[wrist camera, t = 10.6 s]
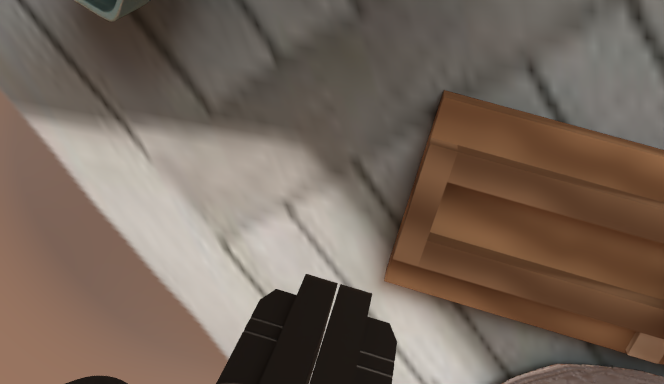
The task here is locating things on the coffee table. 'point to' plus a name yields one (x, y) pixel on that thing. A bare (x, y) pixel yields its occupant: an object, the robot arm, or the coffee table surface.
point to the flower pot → (112, 7)
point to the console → (538, 225)
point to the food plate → (585, 375)
